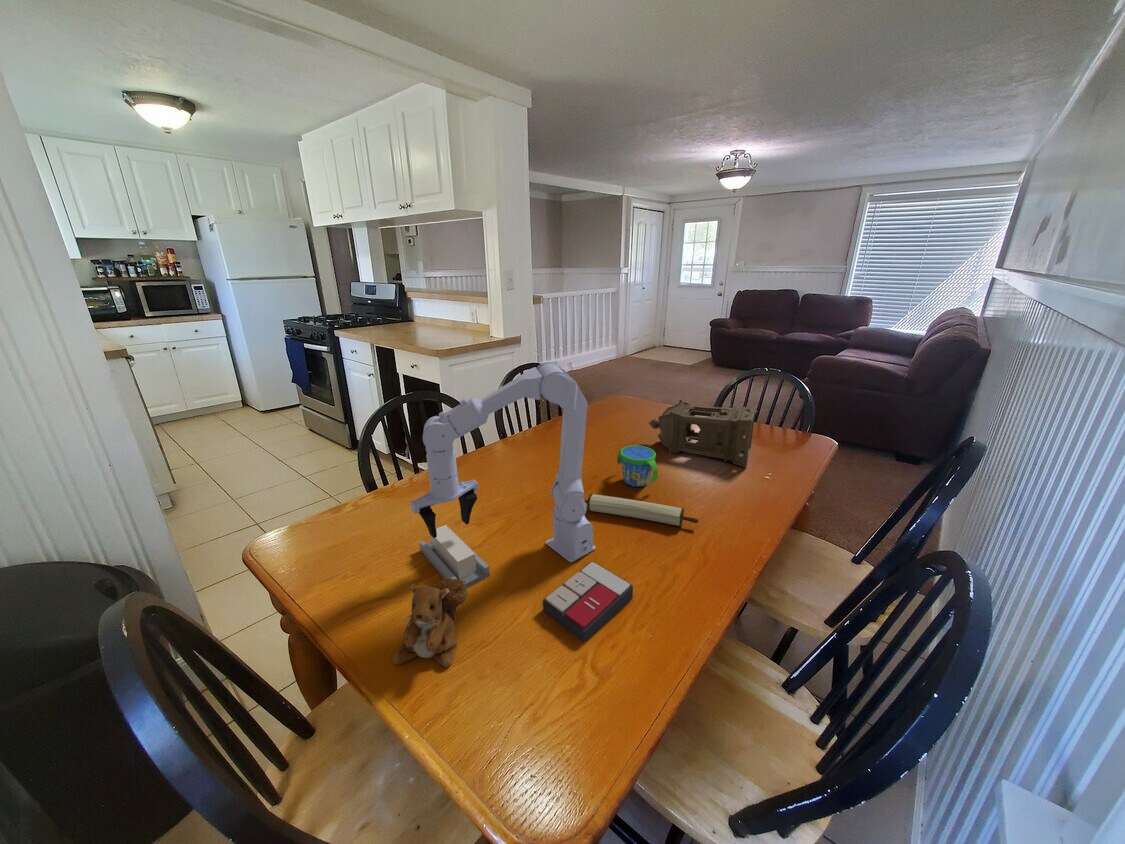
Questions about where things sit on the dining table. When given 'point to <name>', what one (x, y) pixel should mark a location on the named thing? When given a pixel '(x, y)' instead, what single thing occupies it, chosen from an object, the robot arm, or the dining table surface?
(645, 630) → the dining table surface
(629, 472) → the snack cup
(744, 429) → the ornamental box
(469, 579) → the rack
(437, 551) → the white rectangular block
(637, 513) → the rolling pin
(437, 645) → the stuffed squirrel
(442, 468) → the robot arm
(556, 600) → the calculator
